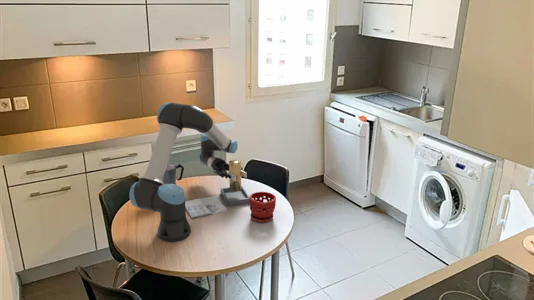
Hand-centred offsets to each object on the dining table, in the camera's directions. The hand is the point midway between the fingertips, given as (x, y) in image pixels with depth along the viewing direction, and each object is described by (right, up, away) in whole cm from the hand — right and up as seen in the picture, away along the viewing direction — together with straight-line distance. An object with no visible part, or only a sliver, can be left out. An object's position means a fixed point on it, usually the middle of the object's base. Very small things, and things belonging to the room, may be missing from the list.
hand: (240, 176), depth 225 cm
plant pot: (+12, -20, -11) cm, 26 cm away
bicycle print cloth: (-19, -17, -1) cm, 25 cm away
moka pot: (-39, -11, +10) cm, 42 cm away
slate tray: (-4, -12, +9) cm, 15 cm away
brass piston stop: (-3, -7, +7) cm, 10 cm away
